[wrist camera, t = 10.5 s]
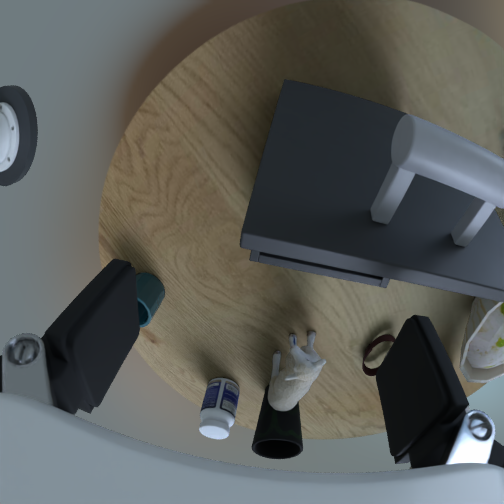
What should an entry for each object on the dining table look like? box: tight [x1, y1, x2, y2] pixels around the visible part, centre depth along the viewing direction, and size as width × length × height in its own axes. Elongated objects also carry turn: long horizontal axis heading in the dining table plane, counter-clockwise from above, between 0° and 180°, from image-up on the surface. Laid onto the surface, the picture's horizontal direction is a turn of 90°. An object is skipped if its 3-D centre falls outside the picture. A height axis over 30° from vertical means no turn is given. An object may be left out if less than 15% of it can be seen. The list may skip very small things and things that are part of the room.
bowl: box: [460, 297, 504, 383], centre depth 32 cm, size 19×19×10 cm
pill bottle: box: [199, 378, 240, 439], centre depth 45 cm, size 6×6×10 cm
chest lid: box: [240, 79, 504, 302], centre depth 13 cm, size 16×14×5 cm
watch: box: [362, 335, 395, 376], centre depth 41 cm, size 8×5×4 cm, turn 167°
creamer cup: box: [136, 273, 165, 327], centre depth 39 cm, size 5×6×6 cm
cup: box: [252, 384, 303, 459], centre depth 43 cm, size 8×8×12 cm
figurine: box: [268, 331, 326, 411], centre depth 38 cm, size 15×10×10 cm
